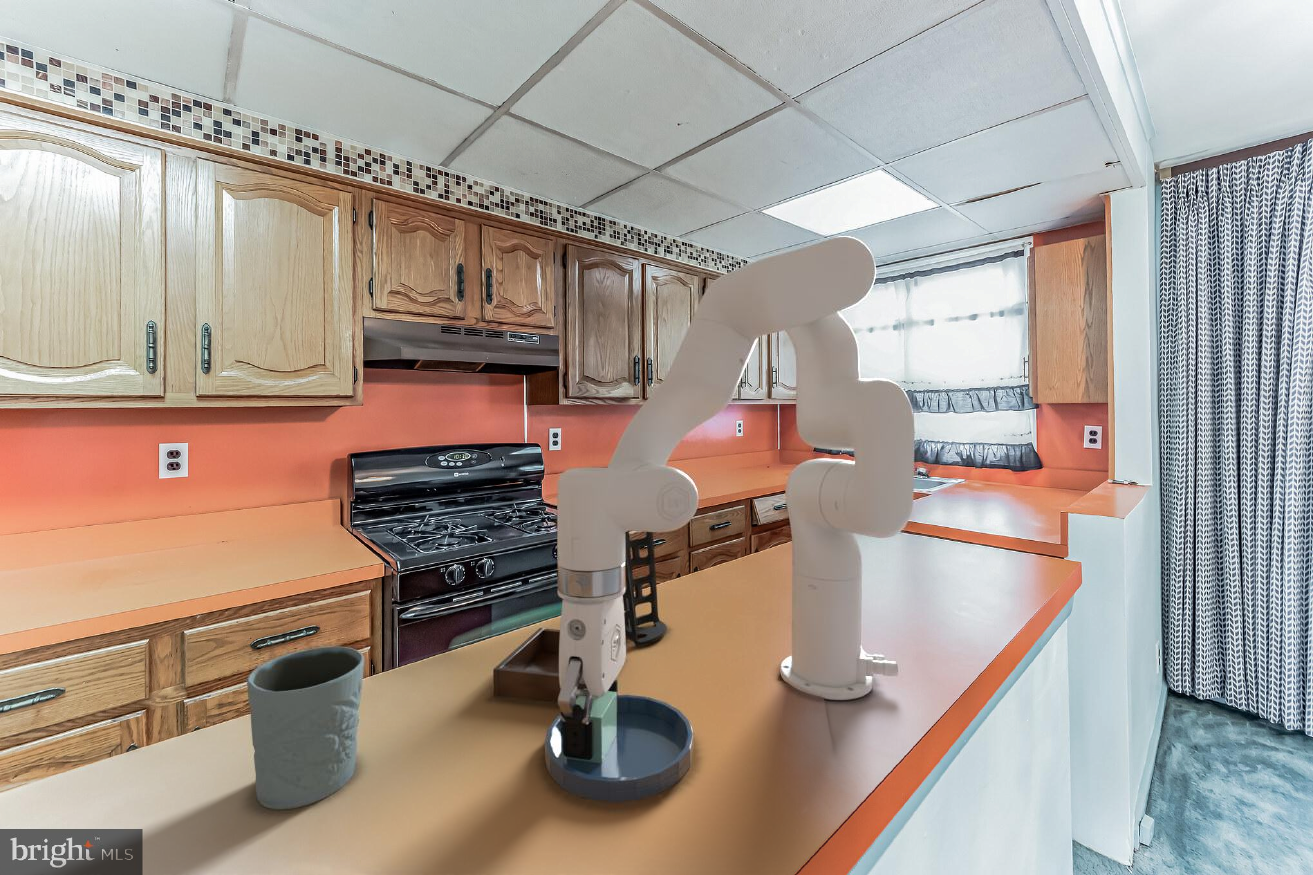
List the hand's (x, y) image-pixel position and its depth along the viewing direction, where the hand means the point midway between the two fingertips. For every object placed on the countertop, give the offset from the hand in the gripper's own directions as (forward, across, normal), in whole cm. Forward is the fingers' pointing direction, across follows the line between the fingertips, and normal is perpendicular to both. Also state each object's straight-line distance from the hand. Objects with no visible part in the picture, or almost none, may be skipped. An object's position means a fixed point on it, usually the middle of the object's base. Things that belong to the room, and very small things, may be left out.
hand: (592, 732), depth 60 cm
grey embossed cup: (+2, -11, +27) cm, 29 cm away
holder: (+2, +33, +3) cm, 33 cm away
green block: (+2, 0, 0) cm, 2 cm away
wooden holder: (+2, +15, +10) cm, 18 cm away
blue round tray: (+2, 0, -3) cm, 4 cm away
